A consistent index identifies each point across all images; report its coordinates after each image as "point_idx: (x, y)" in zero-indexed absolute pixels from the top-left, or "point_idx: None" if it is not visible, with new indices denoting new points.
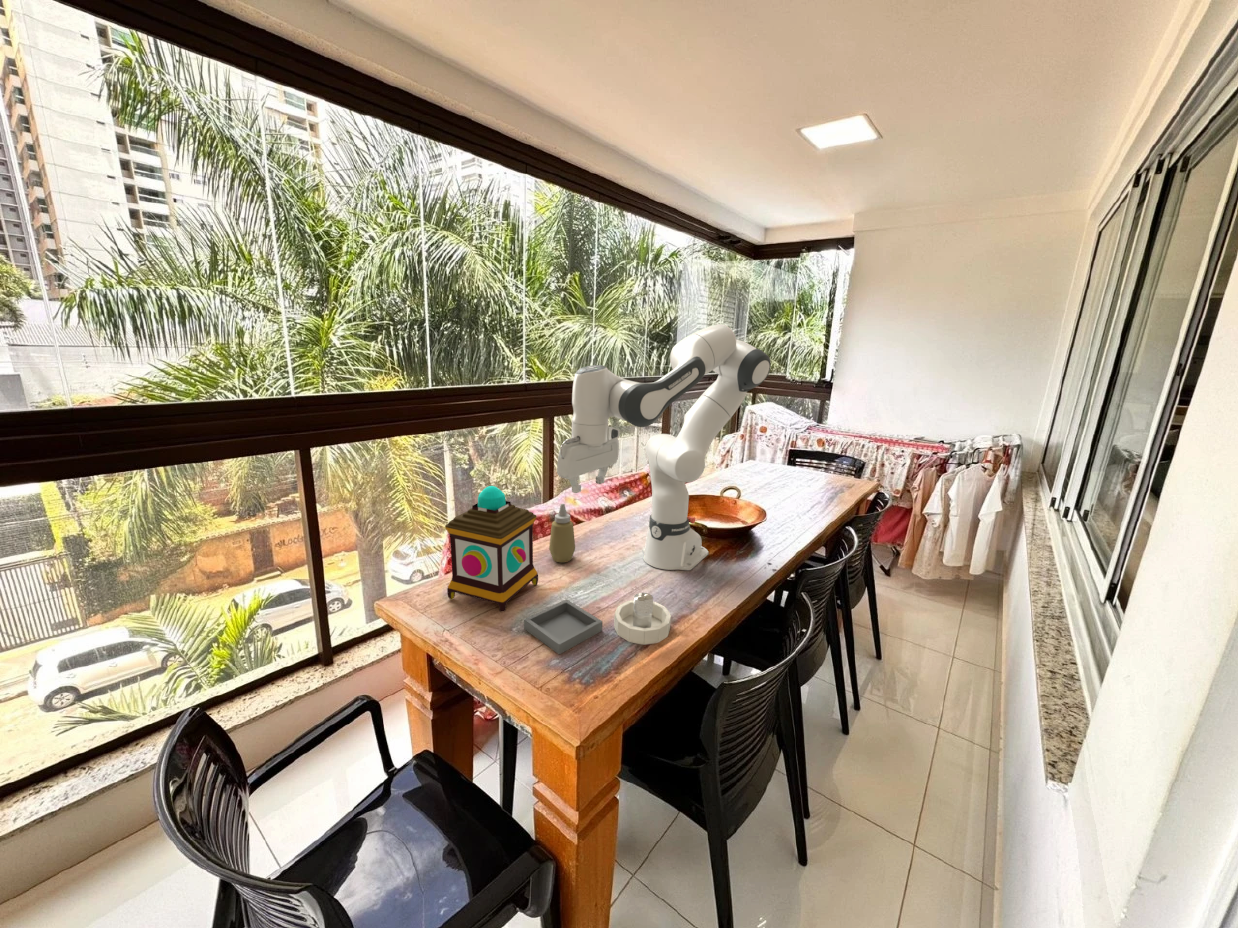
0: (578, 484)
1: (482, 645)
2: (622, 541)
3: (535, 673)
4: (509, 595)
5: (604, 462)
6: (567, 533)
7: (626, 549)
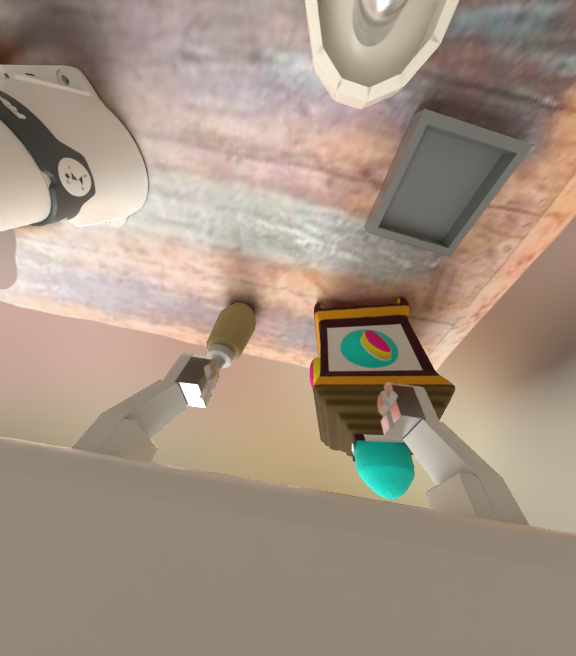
0: (438, 432)
1: (482, 276)
2: (134, 271)
3: (563, 157)
4: (392, 308)
5: (99, 529)
6: (232, 330)
7: (146, 252)
